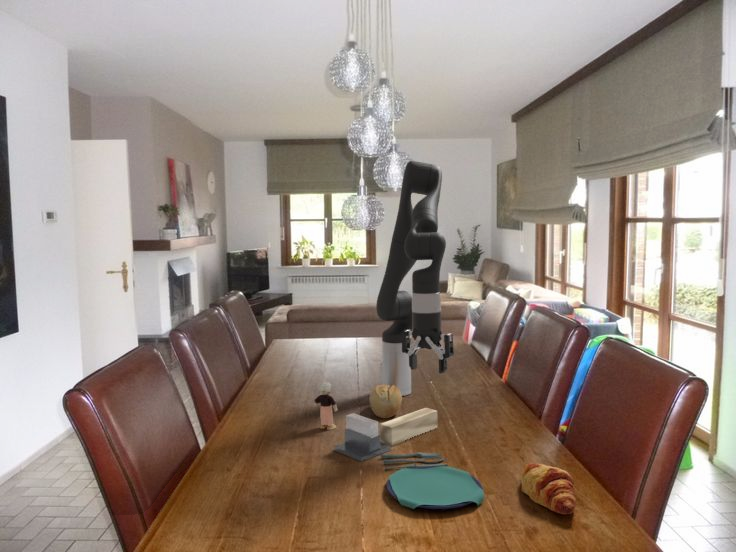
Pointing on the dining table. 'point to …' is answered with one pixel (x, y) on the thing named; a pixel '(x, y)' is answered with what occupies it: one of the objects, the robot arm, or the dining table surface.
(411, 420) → the birch bar
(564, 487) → the croissant
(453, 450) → the dining table surface
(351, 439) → the ridge stand
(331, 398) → the grandmother figurine
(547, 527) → the dining table surface
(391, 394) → the bread roll
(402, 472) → the cutlery set
